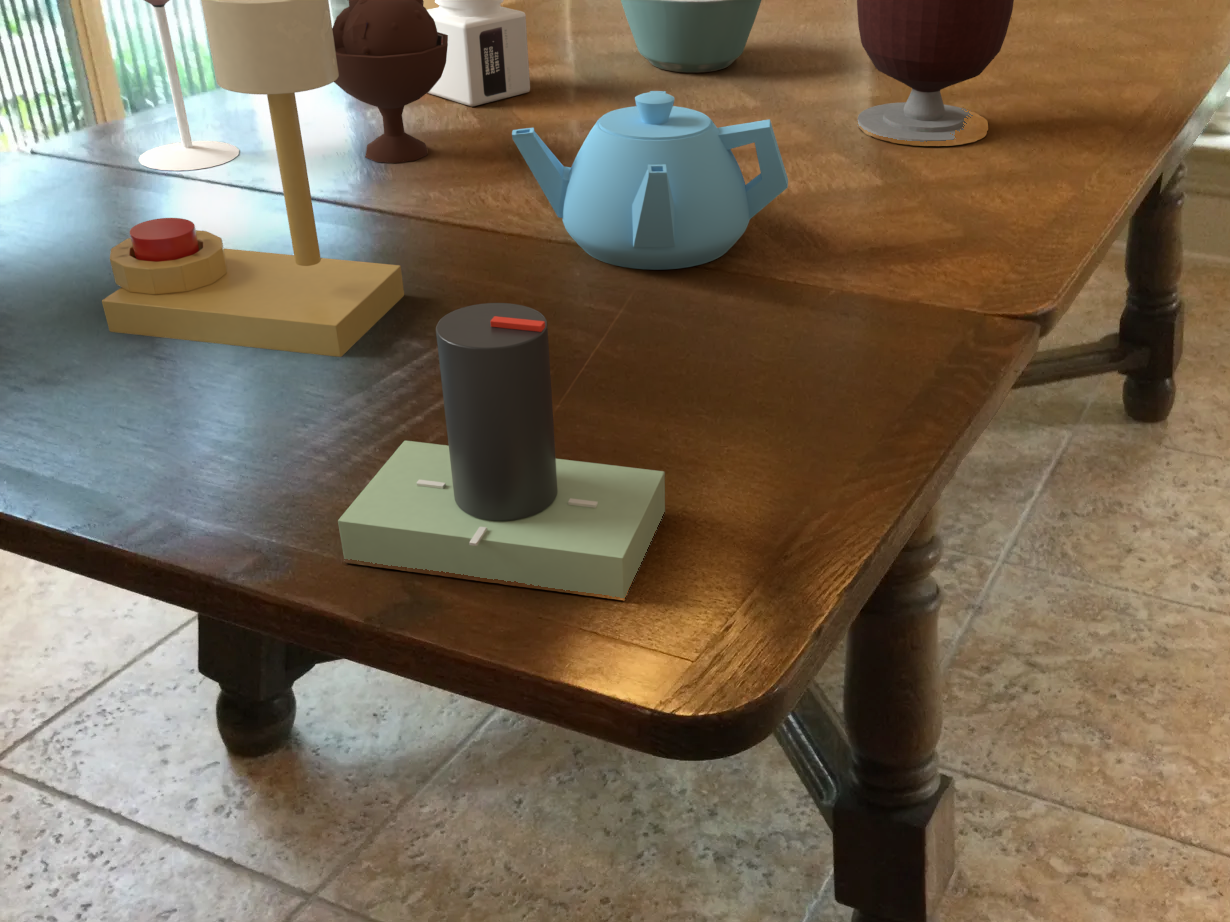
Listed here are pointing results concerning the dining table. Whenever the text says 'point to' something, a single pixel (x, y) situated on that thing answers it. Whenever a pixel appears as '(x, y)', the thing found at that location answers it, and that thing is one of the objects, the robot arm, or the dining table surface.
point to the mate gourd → (928, 59)
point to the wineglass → (181, 120)
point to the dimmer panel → (508, 525)
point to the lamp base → (250, 298)
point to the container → (481, 51)
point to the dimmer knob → (498, 409)
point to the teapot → (657, 184)
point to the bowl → (691, 32)
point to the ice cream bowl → (389, 66)
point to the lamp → (278, 83)
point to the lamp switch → (164, 239)
